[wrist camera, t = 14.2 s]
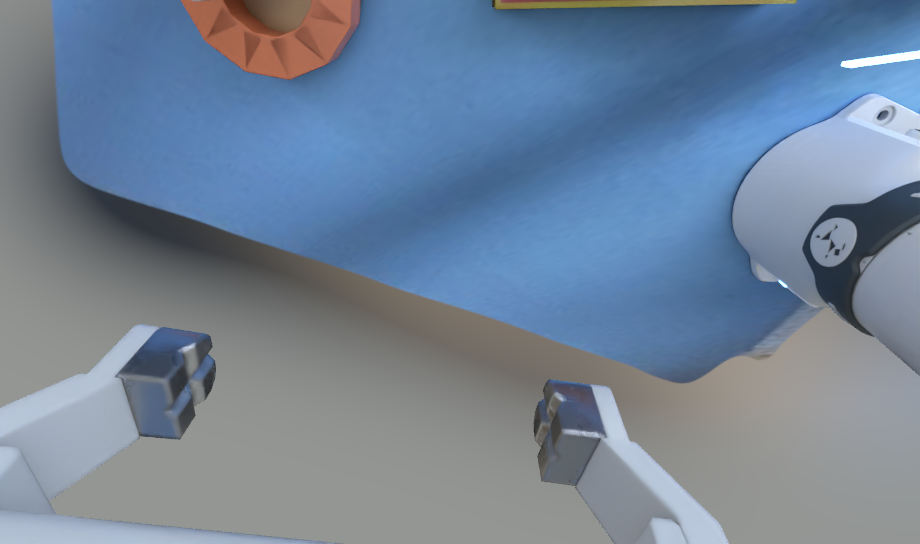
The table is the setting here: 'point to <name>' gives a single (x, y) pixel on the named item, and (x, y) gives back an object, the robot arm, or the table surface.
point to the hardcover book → (620, 3)
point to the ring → (276, 35)
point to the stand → (278, 12)
